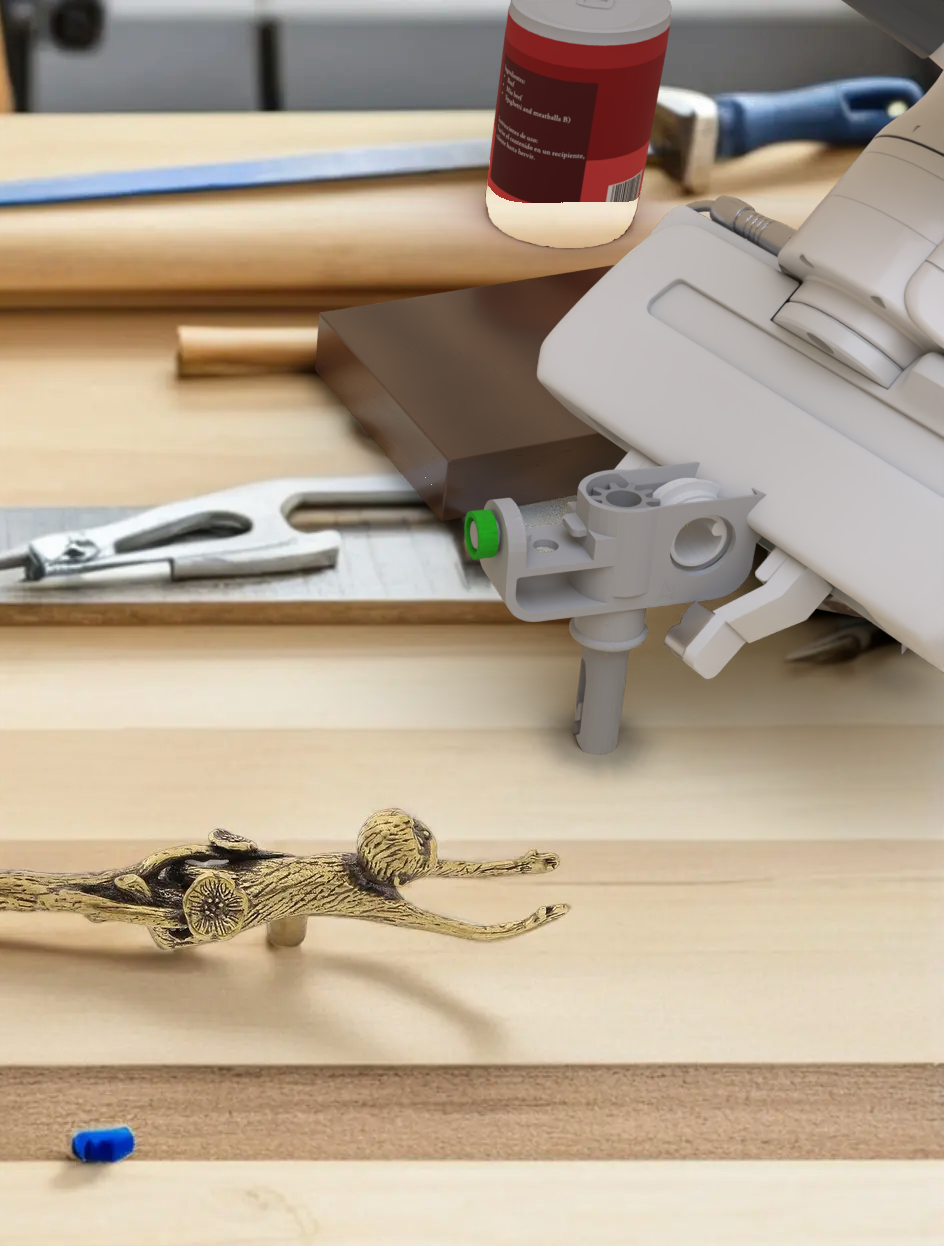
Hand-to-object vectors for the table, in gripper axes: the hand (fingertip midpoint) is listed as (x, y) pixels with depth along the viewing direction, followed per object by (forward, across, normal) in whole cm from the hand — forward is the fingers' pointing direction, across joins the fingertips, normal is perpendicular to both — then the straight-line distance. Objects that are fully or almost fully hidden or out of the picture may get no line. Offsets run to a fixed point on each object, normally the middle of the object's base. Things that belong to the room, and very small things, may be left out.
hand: (637, 626), depth 71 cm
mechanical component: (+4, 0, +3) cm, 5 cm away
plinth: (-5, -19, +12) cm, 23 cm away
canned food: (-14, -34, +21) cm, 42 cm away
